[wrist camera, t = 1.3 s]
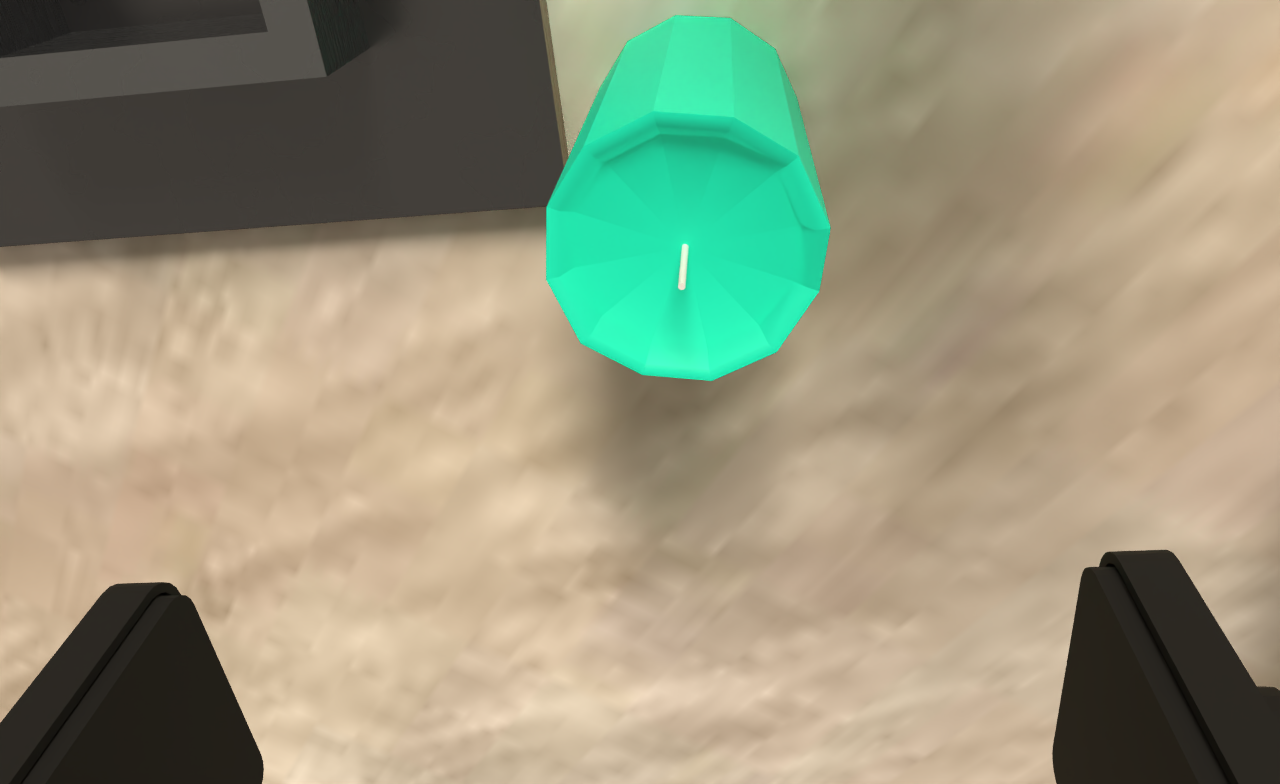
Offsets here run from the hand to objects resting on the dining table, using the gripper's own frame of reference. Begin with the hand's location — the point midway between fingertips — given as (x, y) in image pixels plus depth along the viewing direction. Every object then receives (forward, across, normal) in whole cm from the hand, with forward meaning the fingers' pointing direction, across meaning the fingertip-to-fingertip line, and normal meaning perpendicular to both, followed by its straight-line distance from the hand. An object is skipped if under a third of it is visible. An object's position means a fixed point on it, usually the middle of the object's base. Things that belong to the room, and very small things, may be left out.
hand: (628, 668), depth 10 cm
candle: (+22, 0, 0) cm, 22 cm away
